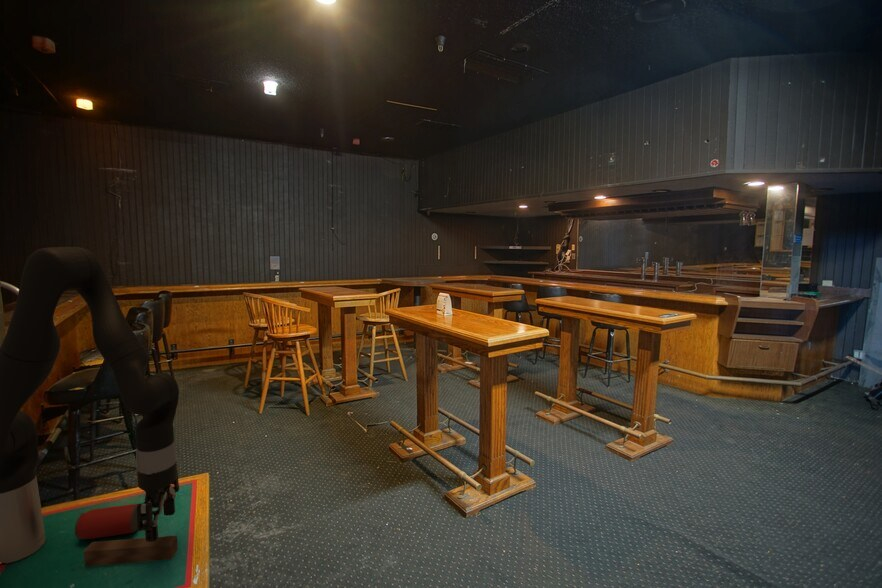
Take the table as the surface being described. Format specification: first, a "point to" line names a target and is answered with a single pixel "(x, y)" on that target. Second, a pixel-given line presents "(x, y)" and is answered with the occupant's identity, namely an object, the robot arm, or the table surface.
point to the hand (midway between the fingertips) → (161, 526)
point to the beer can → (107, 522)
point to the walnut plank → (130, 551)
